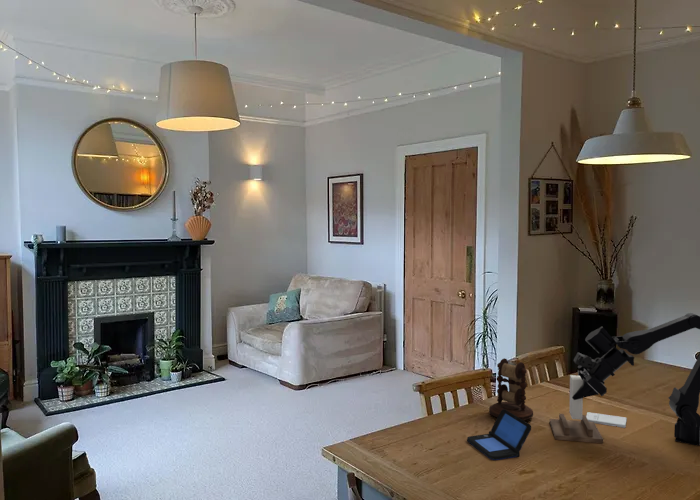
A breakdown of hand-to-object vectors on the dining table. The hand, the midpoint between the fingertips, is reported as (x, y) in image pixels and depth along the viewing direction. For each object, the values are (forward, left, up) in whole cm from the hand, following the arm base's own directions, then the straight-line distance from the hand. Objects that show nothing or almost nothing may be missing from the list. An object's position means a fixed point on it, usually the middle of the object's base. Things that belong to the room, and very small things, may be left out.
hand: (571, 395), depth 183 cm
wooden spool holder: (+21, -2, -12) cm, 24 cm away
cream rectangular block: (-1, -1, -7) cm, 7 cm away
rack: (-1, -1, -12) cm, 12 cm away
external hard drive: (-6, -17, -13) cm, 23 cm away
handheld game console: (+14, +26, -12) cm, 32 cm away
